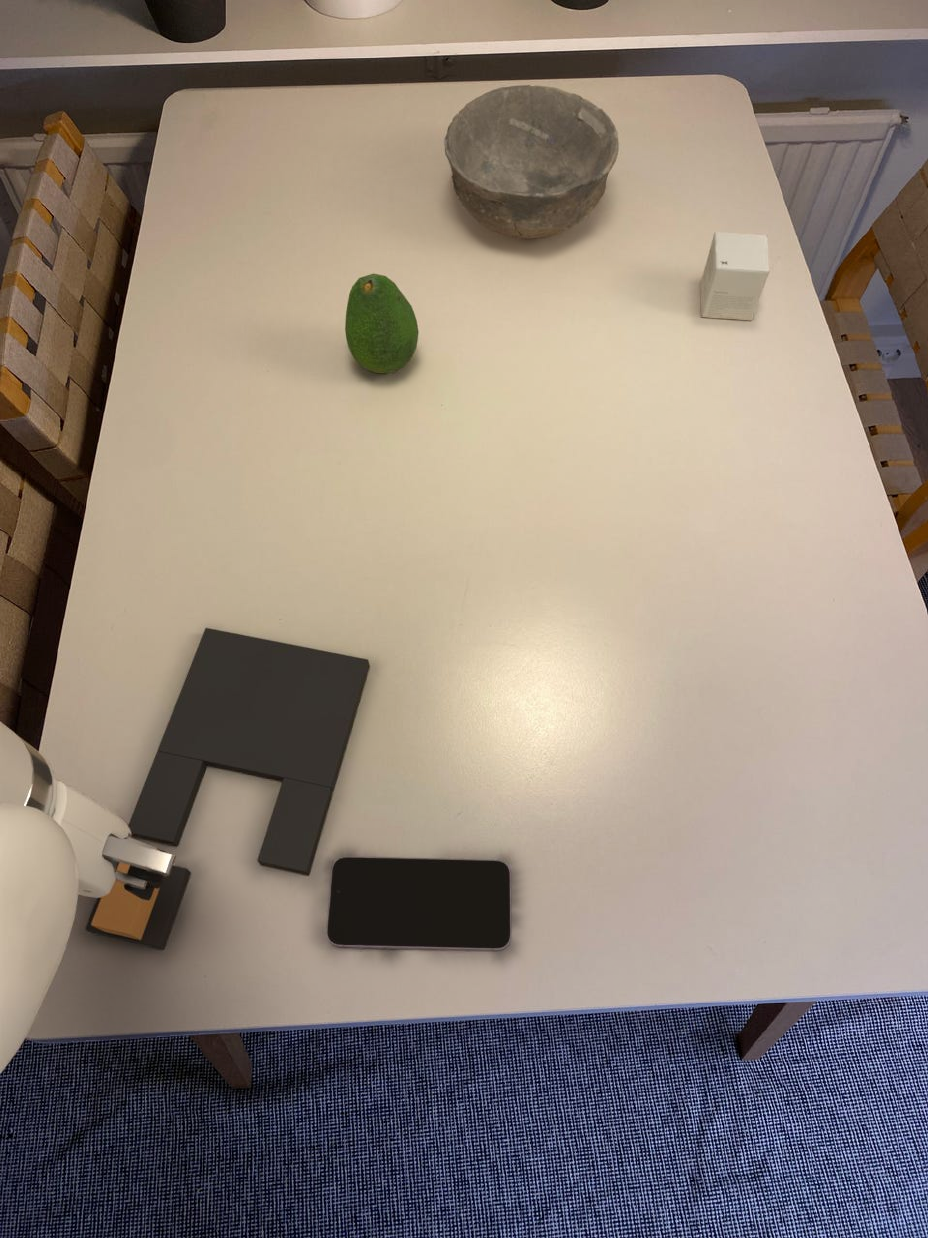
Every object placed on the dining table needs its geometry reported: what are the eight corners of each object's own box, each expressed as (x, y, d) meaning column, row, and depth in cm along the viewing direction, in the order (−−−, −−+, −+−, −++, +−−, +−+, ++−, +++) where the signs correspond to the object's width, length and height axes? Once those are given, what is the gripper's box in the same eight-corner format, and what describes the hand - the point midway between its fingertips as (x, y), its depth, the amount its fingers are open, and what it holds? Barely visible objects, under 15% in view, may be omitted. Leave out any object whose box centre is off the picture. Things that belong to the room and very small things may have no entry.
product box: (752, 322, 107) (770, 272, 101) (699, 318, 108) (714, 267, 101) (750, 285, 110) (768, 234, 104) (699, 281, 111) (714, 229, 104)
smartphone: (511, 950, 74) (324, 946, 74) (510, 952, 75) (326, 948, 75) (510, 859, 77) (332, 855, 77) (509, 862, 78) (333, 858, 78)
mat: (309, 876, 78) (306, 872, 76) (130, 836, 79) (125, 831, 78) (370, 666, 87) (368, 659, 85) (209, 634, 88) (205, 627, 87)
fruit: (425, 386, 103) (420, 304, 92) (354, 395, 102) (341, 313, 92) (415, 334, 107) (410, 249, 96) (347, 342, 106) (334, 257, 95)
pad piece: (164, 950, 75) (147, 941, 71) (91, 933, 75) (69, 923, 71) (191, 872, 78) (176, 859, 74) (120, 856, 78) (102, 843, 74)
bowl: (441, 160, 121) (440, 86, 112) (596, 154, 122) (607, 79, 113) (450, 270, 112) (448, 198, 103) (618, 263, 112) (631, 191, 103)
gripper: (-200, 830, 50) (-45, 889, 65) (98, 899, 48) (186, 944, 64) (-131, 704, 53) (1, 789, 69) (150, 764, 52) (221, 838, 67)
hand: (90, 863), depth 66 cm, fingers open, 9 cm apart
